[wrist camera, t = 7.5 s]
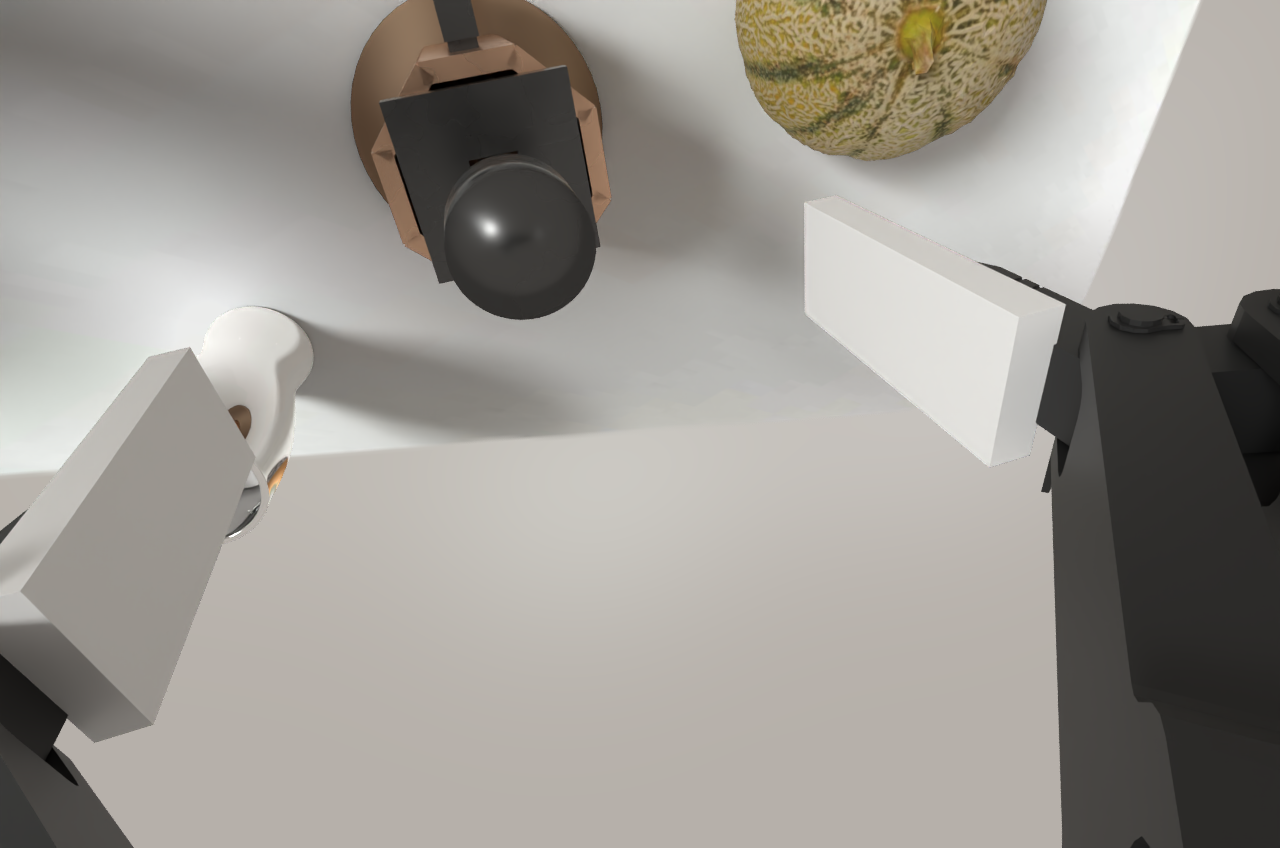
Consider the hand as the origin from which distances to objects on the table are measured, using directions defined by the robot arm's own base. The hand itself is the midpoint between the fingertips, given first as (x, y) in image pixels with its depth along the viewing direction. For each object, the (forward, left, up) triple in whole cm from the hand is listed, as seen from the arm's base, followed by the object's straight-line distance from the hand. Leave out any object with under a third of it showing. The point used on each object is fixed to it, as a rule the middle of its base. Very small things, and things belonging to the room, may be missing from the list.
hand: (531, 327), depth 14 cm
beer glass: (-17, -10, -30) cm, 35 cm away
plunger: (0, 0, -27) cm, 27 cm away
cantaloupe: (+21, +3, -30) cm, 36 cm away
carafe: (0, +1, -29) cm, 29 cm away
